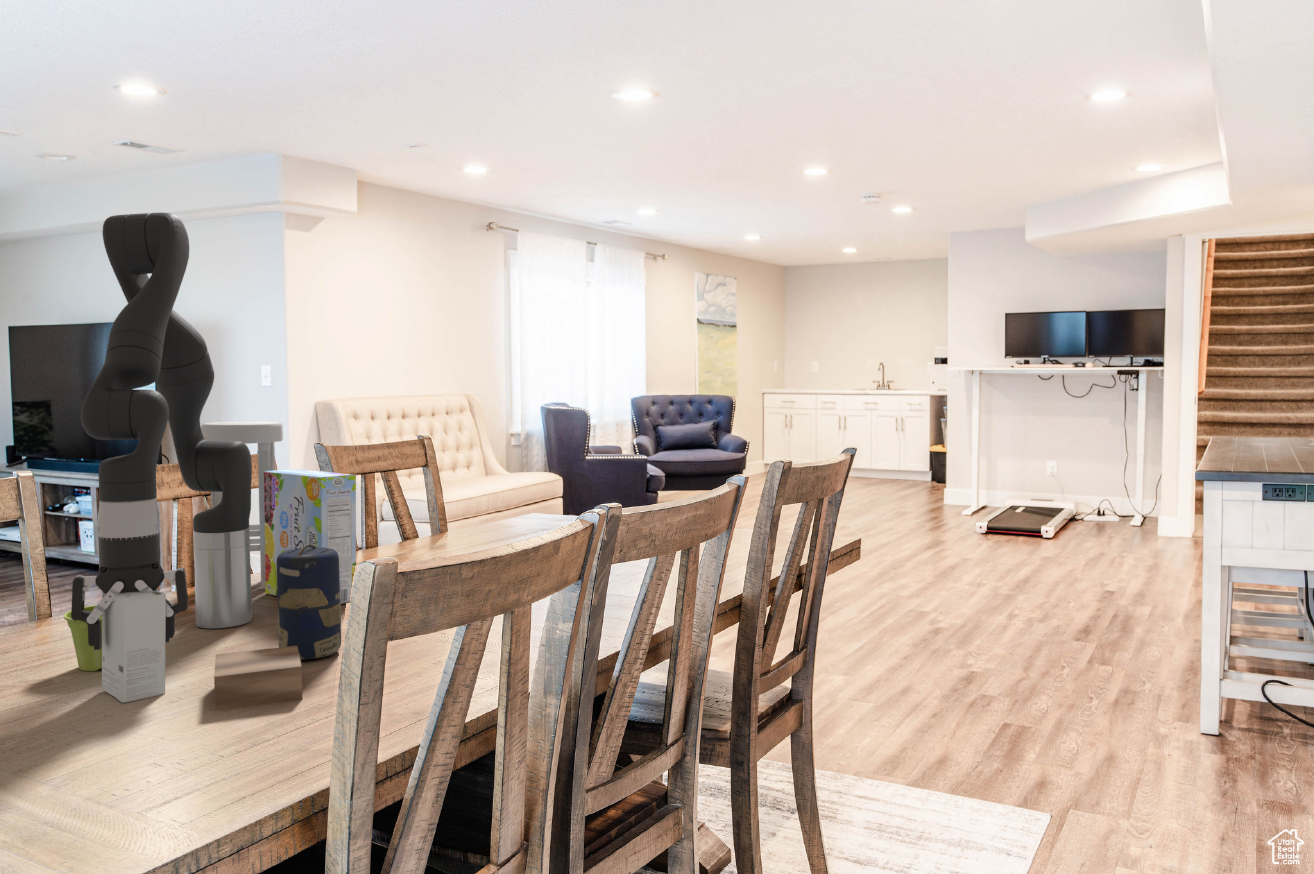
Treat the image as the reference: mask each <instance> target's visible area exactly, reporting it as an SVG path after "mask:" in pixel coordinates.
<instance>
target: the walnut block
mask: <svg viewBox="0 0 1314 874" xmlns="http://www.w3.org/2000/svg"><path fill="white" fill-rule="evenodd" d="M301 661H302V660H300V657H299V652H298V647H297V646H288V647H279V646H278V647H272V648H271V647H270V648H263V649H255V650H254V649H253V650H245V651H244V650H243V651H236V652H234V651H233V652H227V653H219V654H215V662H214V675H213V680H214V681H213V682H214V683H213V684H214V711H215V712H217V711H223V710H232V709H239V708H247V707H255V706H262V705H263V706H264V705H271V704H278V703H284V702H292V701H301V700H303V672H302V671H303V670H302V667H303V666H302V662H301Z"/></svg>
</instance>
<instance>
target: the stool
mask: <svg viewBox="0 0 1314 874" xmlns="http://www.w3.org/2000/svg"><path fill="white" fill-rule="evenodd" d="M200 426H201V431H202V434H203V436H204V438H205V439H206V440H207V441H240V442H243V443H245V444H246V445H247V444H250V445H251V444H257V473H258V476H257V477H258V480H257V481H258V509H259V510H258V511H259V523H252V524H251V523H249V533H250V552H259V553H260V554H259V555H260V560H259V561H260V589H261V591H262V590H266V585H265V582H266V574H265V510H264V471H273V470H276V460H275V459H276V458H275V457H276V451H275V443H276V442H277V443H278V442H282V441H283V440H284V439H283V438H284V435H283V434H284V432H283V431H284V430H283V427H284V426H283V423H282V422H280V421H271V420H270V421H269V420H241V421H240V420H237V421H236V420H235V421H234V420H233V421H231V420H230V421H213V422H206V423H203V424H200ZM221 499H222V492H210V509H212V508H214V507H215V506H217V505H218V504H219V503H220V502H221Z"/></svg>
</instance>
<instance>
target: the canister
mask: <svg viewBox="0 0 1314 874" xmlns="http://www.w3.org/2000/svg"><path fill="white" fill-rule="evenodd" d="M277 593H278V596H277V632H278V648H279V647H288V646H297V647H298V652H299V657H300V661H303V660H313V659H314V660H315V659H321V658H325V657H328V656H331V655H334V654H335V653H337V652H338V651H339V650H340V648H341V645H342V624H341V623H342V607H341V606H342V604H341V601H340V599H341V598H340V572H339V555H338V553H337V552H336V551H335V550H334V549H331V548H324V547H316V546H314V545H306V546H305V547H303V548H297V549H292V550H287V551H284V552H282V553H281V554H279V555H278V557H277Z"/></svg>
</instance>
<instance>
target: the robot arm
mask: <svg viewBox="0 0 1314 874" xmlns="http://www.w3.org/2000/svg"><path fill="white" fill-rule="evenodd" d="M102 240H103V244H104V248H105V252H106V256H107V258H108V261H109V263H110V265H111V268H112V270H113V273H114V275H115V277H116V280H117V283H118V284H119V286H120V288H121V291H122V293H123V295H124V298H125V300H126V303H127V304H126V305H125V306H124V307H123V308H122V309H121V311H120V312H119V313H118V315H117V316H116V318H115V319H114V321H113V322H112V325H111V327H110V331H109V334H108V335H109V336H108V342H107V347H106V351H105V352H106V353H105V359H104V363H103V365H102V367H101V369H100V370H99V373H98V375H97V377H96V379H95V380H94V382H93V383H92V385H91V387H90V388H89V390H88V392H87V393H86V395H85V398H84V399H83V403H82V405H81V408H80V423H81V426H82V428H83V430H84V432H85V433H86V434H87V435H88V436H90V437H91V438H93V439H94V440H100V441H104V440H105V441H115V440H116V441H117V440H120V441H121V440H122V441H123V440H131V441H132V440H138V442H137V446H136V447H135V449H134V450H133V451H132V452H130V453H128V454H123V455H118V456H114V457H109V458H106V459H104V460H102V461H101V462H100V463H99V465H98V500H99V501H98V503H99V505H98V513H97V526H96V532H97V536H98V537H97V539H98V567H99V569H98V574H97V575H84V574H83V573H81V574H78V575H76V576H75V577H74V579H73V580H72V586H71V587H72V588H71V609H70V611H71V618H72V619H73V620H74V621H78V620H79V621H84V622H86V623H87V625H88V643H89V645H90V646H94V650H100V649H101V647H102V635H101V620H99V617H100V616H101V615H102V613H103V612H104V611H105V610H106V609H107V607H108V606H109V605H110V604H111V602H112V601H113V595H118V594H119V593H125V592H141V593H149V592H155V591H156V590H158V591H160V590H159V587H160V585H161V584H162V583H163V582H164V579H166V580H168V581H169V583H170V585H172V586H175V589H176V598H177V599H176V600H177V602H174V603H173V604H172V603H171V601H170V600H168V599H167V598H166V631H165V644H166V643H168V644H169V643H170V640H171V639H173V638H174V637H175V634H176V624H175V623H176V615H177V614H179V613H181V612H185V611H187V610H188V607H189V596H188V594H189V593H188V586H187V585H188V584H187V573H186V568H184V567H181V566H180V567H177V569H172V570H165V571H164V570H163V568H162V565H161V542H160V541H161V539H160V538H161V535H160V533H161V530H160V528H161V527H160V512H159V506H158V500H157V496H158V495H157V493H158V492H157V491H158V489H157V465H158V459H159V453H160V449H161V444H162V443H163V439H164V434H165V432H166V428H167V425H168V424H169V429H170V432H171V437H172V440H173V446H174V449H175V455H176V459H177V463H178V467H179V471H180V474H181V477H182V479H183V482H184V483H185V485H186V486H187V487H188V488H189V489H190V490H192V491H195V492H202V493H203V492H208V493H209V492H210V493H211V492H222V499H221V502H220V503H219V504H218V505H217V506H215V507H214V508H212V509H211V508H209V509H206V510H203V511H201V512H198V513H196V514H195V515H194V516H193V520H192V529H193V531H192V533H193V561H194V562H193V563H194V564H193V565H194V567H193V568H194V592H195V593H194V595H195V602H194V603H195V625H196V627H198V628H203V629H225V628H232V627H237V626H242V625H245V624H247V623H249V622H251V621H252V619H253V618H252V579H251V578H252V577H251V551H250V545H251V544H250V538H251V537H250V533H249V531H250V530H249V524H250V516H251V510H252V479H253V464H252V463H253V462H252V454H251V451H250V449H249V446H247V444H245V443H243V442H240V441H207V440H206V439H205V438H204V436H203V434H202V431H201V414H202V411H203V409H204V407H205V405H206V402H207V401H208V399H209V397H210V394H211V391H212V389H213V386H214V381H215V371H214V366H213V363H212V359H211V356H210V353H209V350H208V346H207V344H206V341H205V339H204V338H203V336H202V335H201V333H200V332H199V331H198V330H197V329H196V327H194V326H193V325H192V324H191V323H190V322H189V321H187V320H186V318H184V317H183V316H182V315H181V314H179V312H177V311H176V310H175V309H174V307H175V306H174V305H175V302H176V300H177V297H178V294H179V291H180V288H181V285H182V283H183V279H184V276H185V274H186V270H187V267H188V263H189V260H190V259H189V258H190V240H189V235H188V232H187V228H186V226H185V224H184V223H183V221H182V219H180V217H179V216H178V215H176V214H175V213H171V212H145V213H129V214H128V213H127V214H117V215H115V214H114V215H111V216H108V217H107V218H106V219H105V220H104V221H103V224H102ZM150 274H151V275H150ZM149 275H150V276H149ZM152 384H155V385H156V388H157V390H156V389H155V390H154V389H141V388H143V387H147V386H150V385H152ZM139 388H140V389H139ZM92 585H96V586H97V587H98V588H99V590H101V593H102V594H103V593H104V594H105V595H104V597H101V599H100V600H99V602H98V603H97V604H95V605H96V607H95V608H94V609H93V610H92V612H91V611H87V610H84V607H85V600H86V599H85V597H86V593H87V592H89V591H90V589H91V588H92ZM106 601H107V602H106Z"/></svg>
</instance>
